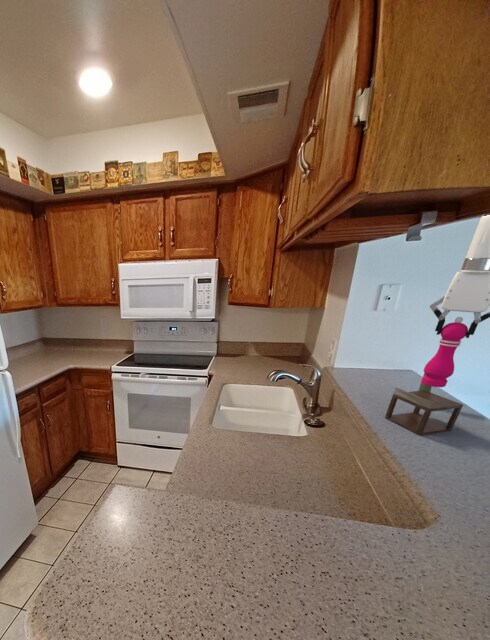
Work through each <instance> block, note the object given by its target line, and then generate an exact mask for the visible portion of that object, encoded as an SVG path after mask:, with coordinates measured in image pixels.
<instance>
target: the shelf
mask: <svg viewBox="0 0 490 640" xmlns="http://www.w3.org/2000/svg"><path fill="white" fill-rule="evenodd" d="M398 400H399V401H402V402H404V403H407V404H409V405H411V406H413V407H414V408H413V412H406V413H397V414H393V413H394V410H395V409H396V408H395V407H396V405H397V402H398ZM463 407H464V404H462V403H461V402H457V401H454V400H453V399H449V398H446V397H444V396H441V395H438V394H436V393H433V392H428V391H425V390H422V391H419V390H413V391H407V390H404V389H401V388H399V387H395V388H394V390H393V393H392V396H391V399H390V402H389V404H388V407H387V411H386V413H385V417H384V419H386V420H388V421H390V422H392V423H394V424H395V425H397V426H399V427H402V428H404V430H407V431H410V432H411V433H413V434H415V435H417V436H424V435H431V434H436V433H437V434H438V433H444V432H450V431H452V430H453V428H454V426H455V424H456V422H457V420H458V417H459V415H460V413H461V411H462V409H463ZM421 410H423V411H424V412H423V414H421V413H420V411H421ZM448 410H452V413H451V415H450V417H449V419H448V422H447V424H446V425H445V424H443V423H442V422H439V421H437V420H435V419H432V418H431V414H432V413H433V412H439V411H440V412H441V411H448Z"/></svg>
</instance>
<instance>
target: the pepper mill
mask: <svg viewBox="0 0 490 640" xmlns="http://www.w3.org/2000/svg"><path fill="white" fill-rule="evenodd" d="M463 321H464V317H462V316H457V317H456V318H455V319H454V321H453V322H450V323H447V324H444V325H443V328H442V330H441V333H440V336H441V338H440V339H439V341H438V345H439V346H438V349H437V351H436V353H435V354H434V355H433V357H431V358H430V360H429V361H428V362H427V363H426V364H425V365H424V368H423V374H424V373H425V375H426V376H423V375H422V378H421V379H420V384H421V383H423V384H425V385H428V386H432V387H431V388H445V387H446V386H447V383H448V378H450V377H452V376H453V374H454V372H455V361H454V360H455V359H454V358H455V357H454V356H455V352H456V350H457V348H458V347H460V346H461V344H462V341H461V340H463V339H464V338H466V335H467V333H468V330H469V327H468V326H467V325H466V324H465V323H462V322H463Z"/></svg>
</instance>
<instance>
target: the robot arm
mask: <svg viewBox="0 0 490 640" xmlns="http://www.w3.org/2000/svg"><path fill="white" fill-rule="evenodd" d="M439 305H441V309H442V310H443V311H441V310H440V309H439V307H438V306H439ZM489 307H490V215H487V216H483V215H482V216H481V217H480V219H479V221H478V224H477V227H476V229H475V231H474V235H473V237H472V240H471V243H470V245H469V248H468V251H467V253H466V255H465V258H464V261H463V264H462V266H461V268H460V270H459V271H456V273H455V275H454V276H453V278H452V280H451V282H450V283H449V286H448V288H447V291H446V292H445V295H444V296H442V297H441V298H439V299H437V300H436V301H434V302H433V303H431V304H430V305H429V309H430V310H431V311H432V312H433V314H434V316H435V317H436V318H437V320H438V321H437V324H436V326H435V329H434V331H435V332H436V335H437V336H439V335H441V330H442V328H443V327H444V326H445V324H446V317H447V315H448V314H449V313H450V312H459V313H460V312H462V313H473V318H474V319H473V321H472V322H471V323H470V325H469V327H468V333H467V335H466V336H465V338H466V339H469V338H470V336H474V334H475V332H476V329H477V327H478V326H479V324H480V323H481V322H484V321H485V320H487V319H489V318H490V311H489V312H486V311H487V310H488V309H489ZM484 312H486V313H484ZM481 313H484V314H483V315H482V314H481Z"/></svg>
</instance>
